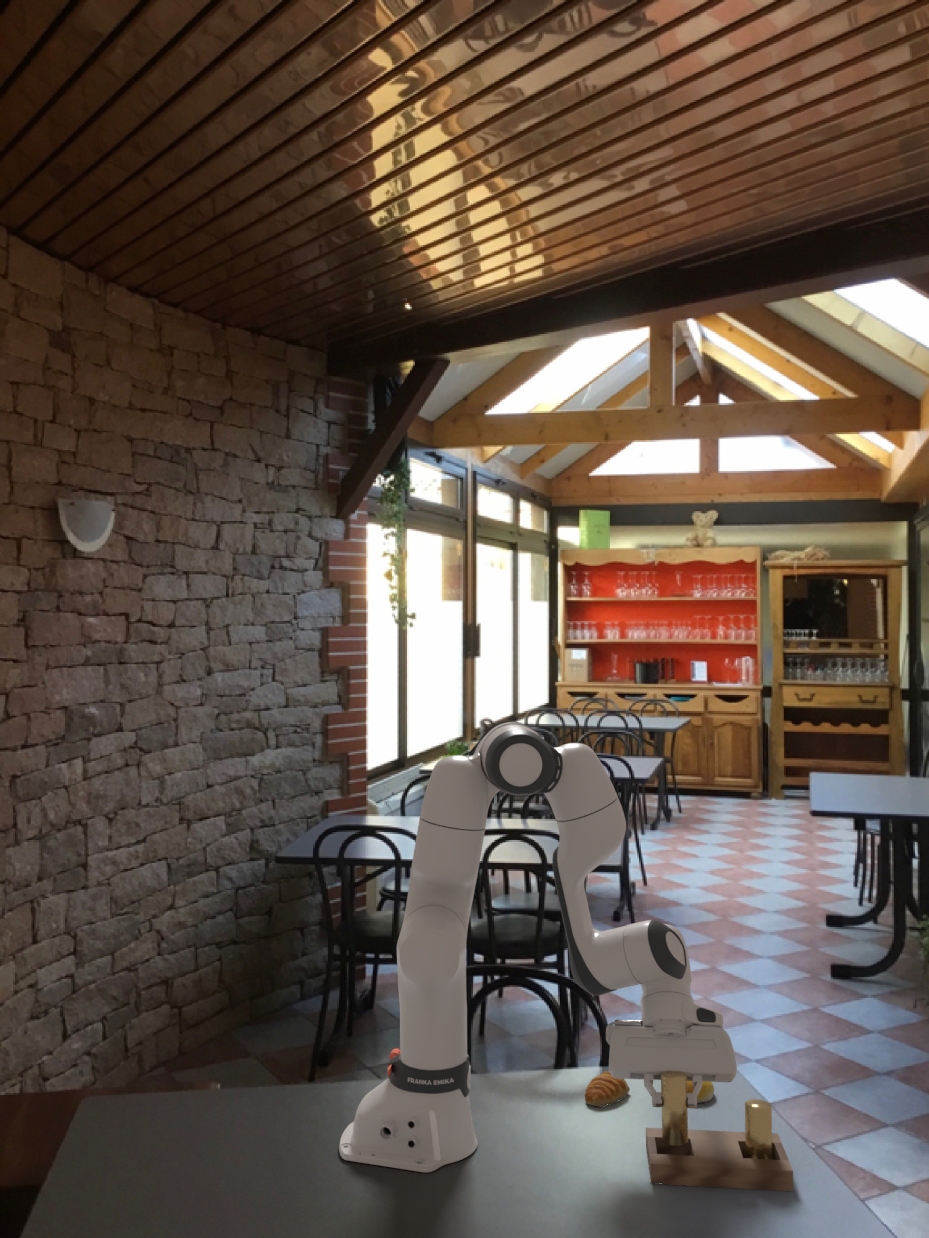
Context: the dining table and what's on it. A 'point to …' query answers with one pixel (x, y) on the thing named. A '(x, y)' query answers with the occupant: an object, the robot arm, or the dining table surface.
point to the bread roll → (702, 1091)
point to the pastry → (605, 1090)
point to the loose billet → (674, 1107)
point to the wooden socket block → (716, 1162)
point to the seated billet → (758, 1129)
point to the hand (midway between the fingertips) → (674, 1106)
